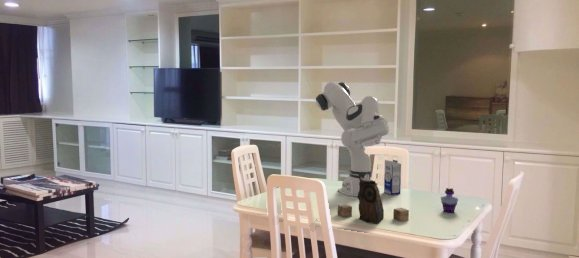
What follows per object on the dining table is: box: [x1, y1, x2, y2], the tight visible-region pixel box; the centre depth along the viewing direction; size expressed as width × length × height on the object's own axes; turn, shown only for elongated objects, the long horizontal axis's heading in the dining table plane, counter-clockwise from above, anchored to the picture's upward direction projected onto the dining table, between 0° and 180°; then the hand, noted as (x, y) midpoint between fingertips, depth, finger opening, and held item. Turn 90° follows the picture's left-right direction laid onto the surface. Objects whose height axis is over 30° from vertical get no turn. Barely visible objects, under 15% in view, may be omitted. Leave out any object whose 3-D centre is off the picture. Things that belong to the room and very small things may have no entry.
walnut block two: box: [392, 207, 410, 222], centre depth 219 cm, size 5×5×5 cm
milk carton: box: [383, 159, 402, 196], centre depth 271 cm, size 7×7×20 cm
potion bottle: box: [440, 187, 459, 214], centre depth 233 cm, size 9×9×12 cm
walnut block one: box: [337, 203, 353, 219], centre depth 225 cm, size 5×5×5 cm
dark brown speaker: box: [357, 177, 385, 225], centre depth 218 cm, size 13×13×20 cm
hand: (369, 146), depth 228 cm, fingers open, 8 cm apart
